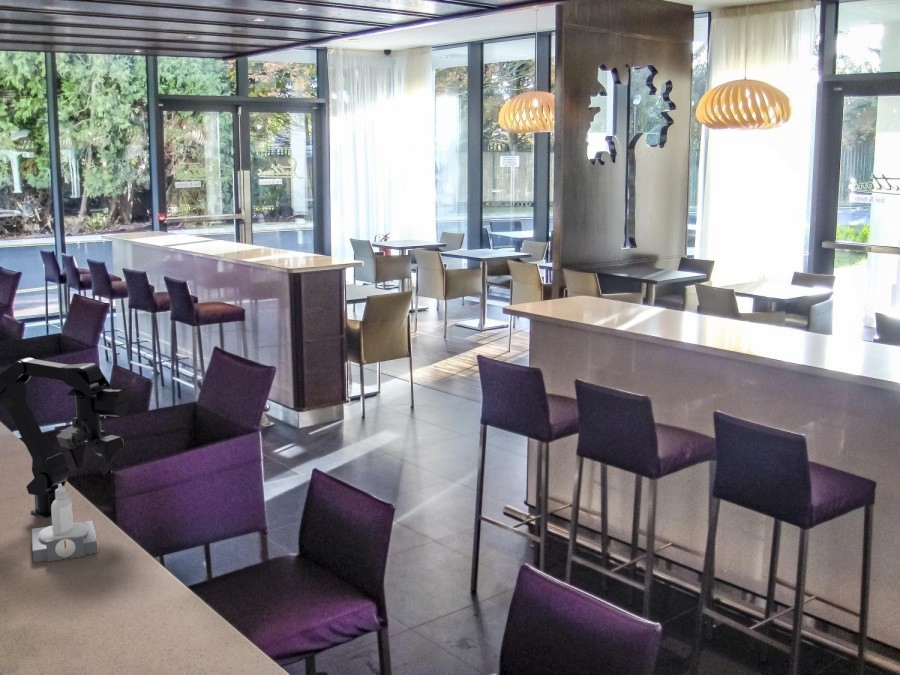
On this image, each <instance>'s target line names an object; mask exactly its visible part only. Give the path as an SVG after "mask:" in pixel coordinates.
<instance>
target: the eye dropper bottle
mask: <svg viewBox="0 0 900 675" xmlns="http://www.w3.org/2000/svg"><path fill="white" fill-rule="evenodd" d="M55 498H56V499H55V500H54V501H53V503H52V505H51V514H52V516H51V524H52V529H53V535H64V534H66V533H68V532H70V531H71V530H72V529H73V522H74V519H73V518H74V517H73V515H74V514H73V505H72V499H71V497H68V496H67V489H66V488H65V487H64V486H62V484H59V485H58V489H56V490H55Z"/></svg>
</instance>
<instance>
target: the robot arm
mask: <svg viewBox="0 0 900 675" xmlns="http://www.w3.org/2000/svg"><path fill="white" fill-rule="evenodd" d="M31 377H36V378H41V379H47V380H52V381H53V380H54V381H58V382H62V383H64V384H65V385H66V386H68V387H70V388H71V390H70V391H68V392H67V396H70V397H75V412H76V413H75V414H76V417H73V418H72V420H71V425H70V426H68V427H66V428H64V429H61V430H58V432H57V433H56V435H55V436H56V442H57V443H59V445H60V448H66V449H67V450H68V451H69V454H70V455H71V457H72V460H73V462H74V464H75V467H76V469H82V467H83V463H84V456H85V448H86V443H89V444H91V445H94V448H95V449H96V450H95V451H94V453H95V454H96V455H98V456H99V461H100V462H99V464H100V471H101V475H103V476H104V475H106V474H107V473H108V471H109V469H110V467H111V464H112V462H113V460H114V458H115V456H116V454H117V453H118V451H120V450H121V449H122V448H124V447H125V445H124V444H125V441H124V440H125V439H124V438H122V436H117V435H113V434H110V435H107V436H106V431H105V430H102V423H101V422H102V421H104V420H105V416H109V417H119V418H122V417H124V416H125V415H127V413H128V410H129V407H130V405H129V404H130V401H129V400H128V397H127V395H126V394H124V391H123V390H124V389H113V387H112V385H111V383H110V382H109V380H108V379H107V377H106V376H105V375H104V373H103V372H102V369H101V368H100V366H99V365H98V364H97V363H94V362H88V363H87V362H84V363H83V362H82V363H77V364H76V363H75V364H67V363H60V362H54V361H48V360H42V359H35V358H33V357H25V358H21V359H18V360H16V361H15V362H14V363H12V365H11V366H9V367H8V368H7V369H5V370H4V371H3V372H1V373H0V406H1V407H3V408H4V409H5V410H6V411H7V412H8V414H9V416H10V418H11V420H12V422H13V424H14V425H15V428H16V429H17V431H18V434H19V435H20V437H21V439H22V441H23V443H24V445H25V447H26V449H27V451H28V453H29V455H30V457H31V460H32V462H31V473H32V475H33V479H32V480H31V481H30V482H29V483H28V484H27V485H26V490H27V493H28V495H31V496H33V495H34V506H35V507H34V509H33V510H30V514H33V515H36V516H39V517H44V518H50V517H52V514H51V505H52V503H53V501H54V500H55V499H56V498H55V490H56V489H58V485H59V484H62V487H65V485H66V482H67V480H68V478H69V476H70V473H71V472H70V468H69V467H70V464H69V463H68V462H67V460H66V458H65V455H64V453H63V452H60V453H56V452H55V451H53V450H52V449H51V447H50V445H49V443H48V441H47V440H46V438H45V436H44V434H43V432H42V429H41V427H40V426H39V424H38V422H37V420H36V417H35V415H34V414H33V412H32V410H31V408H30V406H29V404H28V401H27V397H28V389H27V386H26V384H27V382H29V380H30V379H31ZM102 436H104V437H102Z"/></svg>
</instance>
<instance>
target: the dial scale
mask: <svg viewBox="0 0 900 675" xmlns="http://www.w3.org/2000/svg"><path fill="white" fill-rule="evenodd" d="M94 526H95V525H94V521H93V520H87V521H80V522H75V521H73V529H72V530H71V531H70V532H68V533H66V534H64V535H53V529H52V525H49V526H43V527H42V526H41V527H37V528H31V534H32V535H31V539H32V540H31V542H32V559H33V564H34V563H41V562H47V563H50V562H49V561H51V562H56V561H55V560H58V561H61V560H60V559H64V560H68V559H67V558H71V559H75V558H74V557H78V558H81V557H80V556H84V557H85V555H84V554H89V553H95V554H98V541H97V536H96V531H95V527H94ZM89 555H90V554H89Z"/></svg>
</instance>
